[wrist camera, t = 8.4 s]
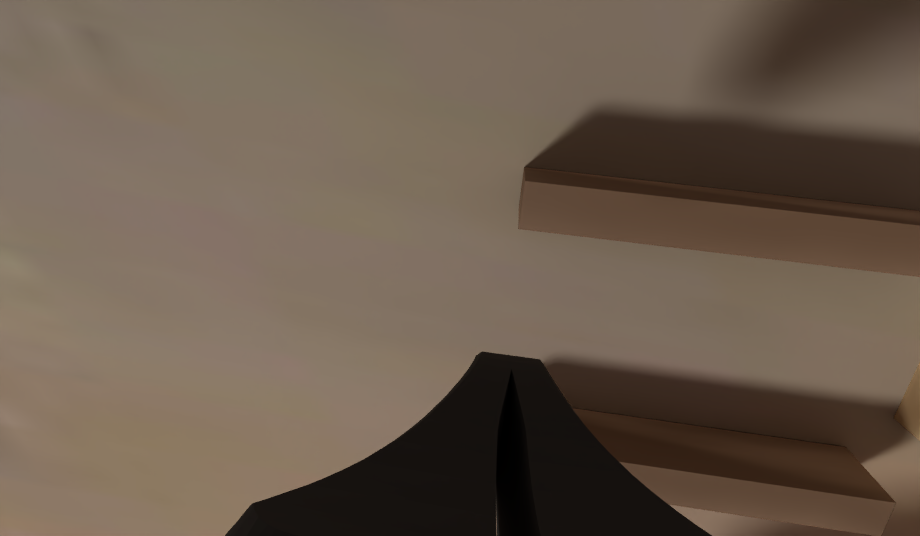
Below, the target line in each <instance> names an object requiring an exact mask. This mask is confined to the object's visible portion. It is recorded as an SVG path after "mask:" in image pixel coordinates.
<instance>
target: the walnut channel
mask: <svg viewBox="0 0 920 536" xmlns="http://www.w3.org/2000/svg"><path fill="white" fill-rule="evenodd" d="M518 229H523V230H532V231H540V232H548V233H557V234H565V235H574V236H582V237H590V238H599V239H607V240H615V241H624V242H632V243H641V244H649V245H657V246H666V247H674V248H682V249H691V250H699V251H708V252H716V253H724V254H733V255H741V256H749V257H758V258H766V259H775V260H783V261H791V262H800V263H808V264H816V265H825V266H833V267H842V268H850V269H858V270H867V271H875V272H884V273H892V274H900V275H909V276H917V277H920V211H917V210H908V209H899V208H890V207H881V206H872V205H863V204H854V203H845V202H836V201H827V200H818V199H809V198H799V197H790V196H781V195H772V194H763V193H754V192H745V191H736V190H727V189H718V188H709V187H700V186H691V185H682V184H673V183H664V182H655V181H646V180H637V179H628V178H619V177H610V176H601V175H592V174H583V173H574V172H565V171H556V170H547V169H538V168H529V167H524V173H523V181H522V188H521V196H520V203H519V225H518ZM572 409H573V410H574V411H575V413H576V414H577V415H578V417H579V418H580V419H581V421H582V422H583V423H584V425H585V426H586V427H587V428H588V429H589V430H590V432H591V433H592V434H593V435H594V436H595V437H596V439H597V440H598V441H599V442H600V443H601V444H602V445H603V446H604V447H605V448H606V449H607V451H608V452H609V453H610V454H611V455H612V456H613V457H615V458H616V459H617V460H618V461H619V462H620V463H621V464H622V465H623V466H624V467H625V468H626V469H627V470H628V471H629V472H630V473H631V474H632V475H633V476H634V477H636V478H637V479H638V480H639V481H640V482H641V483H642V484H644V485H645V486H646V487H647V488H648V489H650V490H651V491H652V492H653V493H655V494H656V495H657V496H658V497H660V498H661V499H662V500H663V501H665V502H666V503H667V504H670V505H676V506H683V507H689V508H696V509H702V510H709V511H715V512H722V513H729V514H735V515H742V516H748V517H755V518H761V519H768V520H774V521H781V522H787V523H794V524H800V525H807V526H813V527H820V528H826V529H833V530H839V531H846V532H852V533H859V534H865V535H872V536H881V535H882V533H883V531H884V528H885V526H886V524H887V522H888V520H889V518H890V515H891V513H892V511H893V509H894V507H895V505H896V502H895V501H894V500H893V499H892V498H891V497H890V496H889V494H888V493H887V492H886V491H885V490H884V489H883V488H882V487H881V486H880V484H879V483H878V482H877V481H876V480H875V479H874V478H873V477H872V476H871V475H870V473H869V472H868V471H867V470H866V469H865V468H864V467H863V466H862V465H861V463H860V462H859V461H858V460H857V459H856V458H855V457H854V456H853V455H852V453H851V452H850V451H849V450H848V449H847V448H846V447H842V446H835V445H828V444H821V443H814V442H807V441H800V440H793V439H786V438H779V437H772V436H765V435H758V434H751V433H744V432H737V431H730V430H723V429H716V428H709V427H702V426H695V425H688V424H681V423H674V422H667V421H660V420H653V419H646V418H639V417H631V416H624V415H617V414H610V413H603V412H596V411H589V410H582V409H575V408H572Z"/></svg>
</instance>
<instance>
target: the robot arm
mask: <svg viewBox="0 0 920 536" xmlns="http://www.w3.org/2000/svg"><path fill="white" fill-rule="evenodd" d="M496 516H497V536H712V535H710V534H709V533H707V532H706V531H704V530H703V529H701V528H700V527H698V526H697V525H695V524H694V523H693V522H691V521H690V520H688V519H687V518H686V517H684V516H683V515H682V514H680V513H679V512H677V511H676V510H675V509H673V508H672V507H671V506H670V505H668V504H667V503H666V502H665V501H663V500H662V499H661V498H660V497H658V496H657V495H656V494H655V493H653V492H652V491H651V490H650V489H648V488H647V487H646V486H645V485H644V484H642V483H641V482H640V481H639V480H638V479H637V478H636V477H634V476H633V475H632V474H631V473H630V472H629V471H628V470H627V469H626V468H625V467H624V466H623V465H622V464H621V463H620V462H619V461H618V460H617V459H616V458H615V457H613V456H612V455H611V454H610V453H609V452H608V451H607V449H606V448H605V447H604V446H603V445H602V444H601V443H600V442H599V441H598V440H597V439H596V437H595V436H594V435H593V434H592V433H591V432H590V430H589V429H588V428H587V427H586V426H585V425H584V423H583V422H582V421H581V419H580V418H579V417H578V415H577V414H576V413H575V411H574V410H573V409H572V407H571V406H570V404H569V403H568V402H567V400H566V399H565V397H564V396H563V394H562V393H561V391H560V390H559V388H558V387H557V385H556V384H555V382H554V381H553V379H552V377H551V376H550V374H549V372H548V371H547V369H546V367H545V366H544V364H543V363H542V362H541V360H540V359H532V358H525V357H518V356H510V355H503V354H496V353H488V352H481V353H479V354H478V355H476V357H475V359H474V361H473V363H472V364H471V366H470V367H469V369H468V370H467V372H466V373H465V374H464V375H463V377H462V378H461V379H460V381H459V382H458V383H457V384H456V385H455V386H454V387H453V389H452V390H451V391H450V392H449V393H448V394H447V395H446V396H445V398H444V399H443V400H441V401H440V402H439V403H438V404H437V405H436V406H435V407H434V408H433V409H432V410H431V411H430V412H429V413H428V414H427V415H426V416H425V417H424V418H422V419H421V420H420V421H419V422H418V423H417V424H415V425H414V426H413V427H412V428H410V429H409V430H408V431H406V432H405V433H404V434H402V435H401V436H400V437H398V438H397V439H396V440H394V441H393V442H391V443H390V444H388V445H387V446H385V447H383V448H382V449H380V450H379V451H377V452H375V453H374V454H372V455H370V456H369V457H367V458H365V459H363V460H362V461H360V462H358V463H356V464H354V465H352V466H350V467H348V468H346V469H344V470H342V471H339V472H337V473H335V474H332V475H330V476H328V477H326V478H323V479H321V480H319V481H316V482H314V483H311V484H309V485H306V486H303V487H300V488H297V489H294V490H292V491H289V492H286V493H283V494H280V495H277V496H274V497H271V498H268V499H265V500H262V501H259V502H255V503H253V504H251V505H250V506H249V508H248V509H247V510H246V511H245V513H244V514H243V515H242V516H241V518H240V519H239V520H238V521H237V522H236V524H235V525H234V526H233V527H232V528H231V529H230V530H229V531H228V533H227V534H226V535H225V536H496Z"/></svg>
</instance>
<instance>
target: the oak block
mask: <svg viewBox="0 0 920 536" xmlns="http://www.w3.org/2000/svg"><path fill="white" fill-rule="evenodd" d="M894 419H895V420H897V421H898V422H899V423H900V424H901V425H902V426H903V427H904V428H906V429H907V430H908V431H909V432H910V433H911V434H912V435H914V436H915V437H916V438H917V439H918V440H919V441H920V363H919V365H918V367H917V369H916V371H915V373H914V376H913V378H912V380H911V382H910V384H909V386H908V388H907V391H906V393H905V395H904V397H903V399H902V401H901V403H900V406H899V408H898V410H897V412H896V414H895V416H894Z"/></svg>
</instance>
